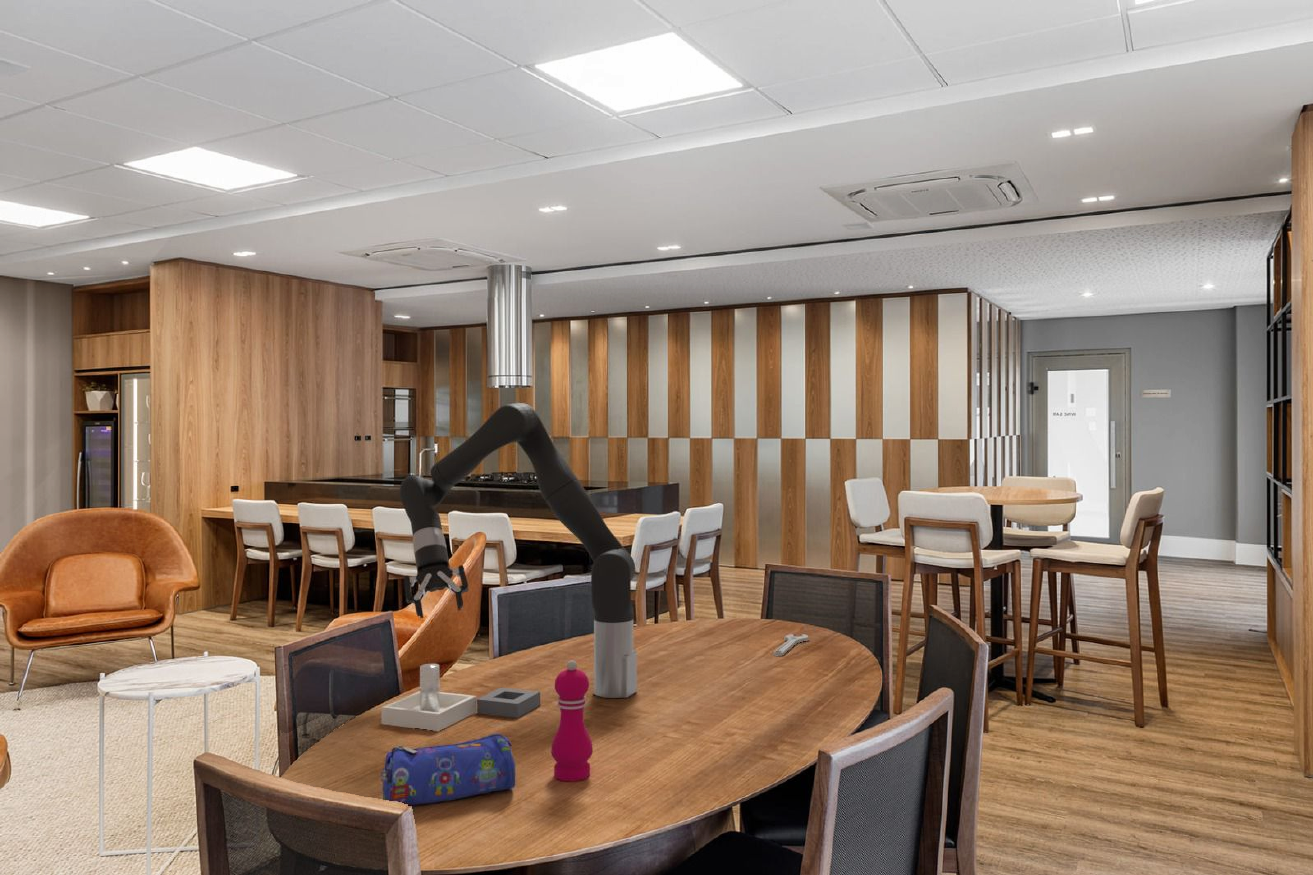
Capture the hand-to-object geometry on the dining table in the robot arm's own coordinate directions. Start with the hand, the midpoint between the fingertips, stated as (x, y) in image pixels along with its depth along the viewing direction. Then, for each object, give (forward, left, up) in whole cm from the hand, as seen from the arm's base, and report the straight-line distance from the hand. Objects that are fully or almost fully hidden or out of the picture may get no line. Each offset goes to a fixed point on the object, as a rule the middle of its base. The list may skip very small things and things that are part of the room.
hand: (440, 613), depth 204 cm
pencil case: (-35, +49, -20) cm, 63 cm away
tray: (-7, +14, -19) cm, 25 cm away
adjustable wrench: (-63, -79, -20) cm, 103 cm away
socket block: (-19, +2, -19) cm, 27 cm away
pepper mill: (-50, +33, -20) cm, 63 cm away
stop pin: (-7, +14, -18) cm, 24 cm away
